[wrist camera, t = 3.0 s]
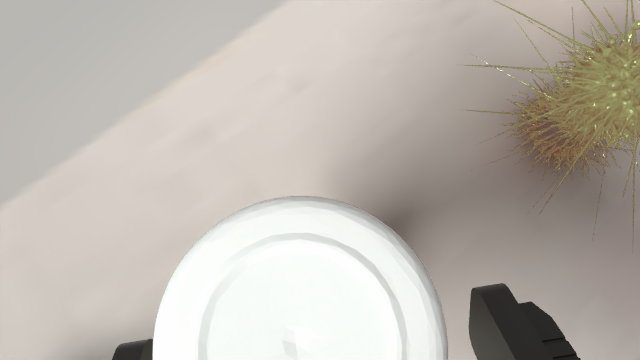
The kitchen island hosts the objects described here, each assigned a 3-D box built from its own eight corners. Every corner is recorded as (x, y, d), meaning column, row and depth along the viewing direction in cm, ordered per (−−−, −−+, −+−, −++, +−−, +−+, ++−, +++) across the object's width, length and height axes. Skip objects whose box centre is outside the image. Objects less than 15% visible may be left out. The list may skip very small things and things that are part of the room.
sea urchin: (737, 172, 20) (970, 110, 13) (528, 312, 19) (648, 333, 12) (570, -16, 22) (683, -158, 15) (378, 98, 21) (399, 5, 14)
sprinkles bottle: (293, 237, 20) (207, 155, 7) (387, 267, 19) (488, 238, 6) (261, 336, 19) (91, 456, 6) (359, 369, 19) (409, 581, 5)
